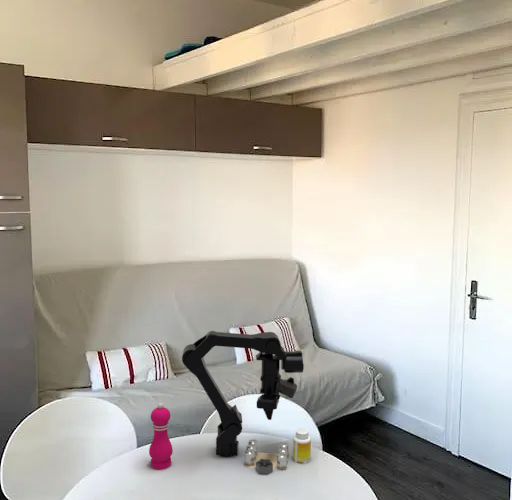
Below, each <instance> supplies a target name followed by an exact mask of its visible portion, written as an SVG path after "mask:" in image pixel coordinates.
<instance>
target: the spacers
mask: <svg viewBox="0 0 512 500" xmlns="http://www.w3.org/2000/svg"><path fill="white" fill-rule="evenodd" d="M258 442H259V441H258V440H257V439H249V440H248V444H247V445H246V450H244V465H246V466H254V464H255V460H256V455H257V454H258V452H259V449H258V448H259V443H258ZM289 446H290V445H289V443H287V442H281V443H279V445H278V447H279V448H278V449H277V450H278V451H277V453H276V454H277V469H279V470H278V471H285V469H286V470H287V468H288V462H289V456H290V453H289V451H290V449H289V448H290V447H289Z"/></svg>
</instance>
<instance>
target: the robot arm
mask: <svg viewBox="0 0 512 500" xmlns="http://www.w3.org/2000/svg"><path fill="white" fill-rule="evenodd" d="M281 343H282V342H281V341H280V339H279V336H278V335H277V333H275V332H272V331H267V332H265V331H264V332H258V333H254V334H247V333H236V332H235V333H234V332H233V333H232V332H221V331H216V330H210V331H208V332H207V333H206V334H205V335H204V336H202V337H200V338H199V339H198V340H196V341H195V342H194V343H191V344H188V345H185V347H184V348H183V350H182V356H181V362H182V364H183V365H184V366H185V368H186V369H187V370H188V371H189V372H190V373H192V374H193V375H194V376H195V377H196V379H197V380H198V381H199V383H200V385H201V387H202V388H203V390H204V391H205V393H206V395H207V396H208V398H209V400H210V401H211V403H212V405H213V406H214V408H215V410H216V411H217V413H218V416H219V419H220V423H219V424H218V425H217V436H216V438H215V441H216V442H215V455H217V456H219V457H223V458H231V457H237V456H238V455H239V453H240V452H239V445H240V443H239V440H238V436H239V435H240V434H241V433H242V431H243V415H242V413H241V412H240V411H239V410H238V407H237V405H236V404H234V405H233V406H232V405H230V404H229V403H228V401H227V399H226V398H225V396H224V395H223V392H221V389H220V388H219V386H218V385H217V382H215V379H214V377H213V376H212V375H211V373H210V371H209V369H208V368H207V364H206V361H205V358H204V357H205V356H206V355H208V353H209V352H210V351H211V350H212V349H214V347H223V348H224V347H226V348H239V349H250V350H251V349H252V350H254V351H257V352H259V353H257V354H256V355H255V359H256V361H261V375H260V378H259V379H260V382H261V383H260V384H261V386H260V387H261V388H260V389H259V390H260V391H259V392H260V393H259V394H261V395H260V396H258V397H257V401H256V408H257V409H259V410H260V409H261V410H263V412H264V413H265V416H266V419H267V420H268V421H271V420H272V418H273V414H274V410H277V409H278V404H279V402H280V398H281V395H284V396H286V397H288V398H289V399H293V398H294V397H295V394H296V392H297V389H298V385H297V383H295V378H293V377H292V376H288V378H287V379H285V378H284V379H283V378H282V375H281V373H280V369H281V370H283V372H284V373H285V374H294V373H298V374H300V373H302V374H303V373H304V367H305V364H304V360H303V351H302V350H295V351H285V349H284V347H282V344H281Z"/></svg>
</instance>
